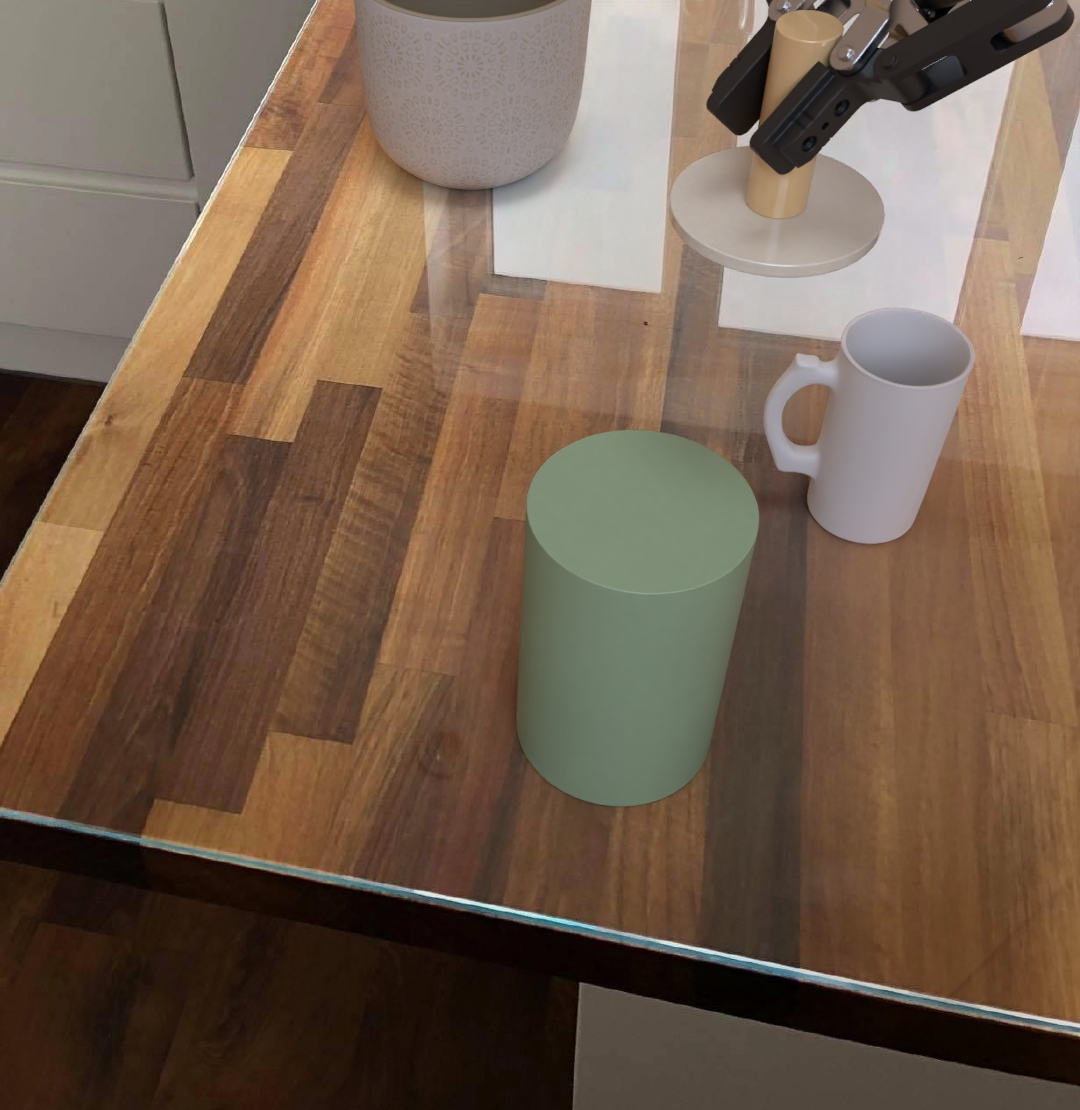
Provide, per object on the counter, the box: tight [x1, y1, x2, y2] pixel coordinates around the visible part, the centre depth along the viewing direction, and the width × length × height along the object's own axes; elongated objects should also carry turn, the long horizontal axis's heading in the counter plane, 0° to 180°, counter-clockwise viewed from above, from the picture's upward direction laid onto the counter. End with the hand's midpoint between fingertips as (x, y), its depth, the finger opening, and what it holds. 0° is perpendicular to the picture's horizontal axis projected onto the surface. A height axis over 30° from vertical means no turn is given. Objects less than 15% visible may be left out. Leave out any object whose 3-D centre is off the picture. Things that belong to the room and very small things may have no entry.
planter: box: [353, 0, 593, 191], centre depth 104 cm, size 17×17×15 cm
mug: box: [762, 307, 976, 545], centre depth 78 cm, size 10×7×12 cm, turn 82°
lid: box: [667, 10, 886, 279], centre depth 53 cm, size 8×8×8 cm
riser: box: [515, 429, 760, 807], centre depth 66 cm, size 10×10×16 cm
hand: (744, 140), depth 53 cm, fingers closed on lid, 2 cm apart
